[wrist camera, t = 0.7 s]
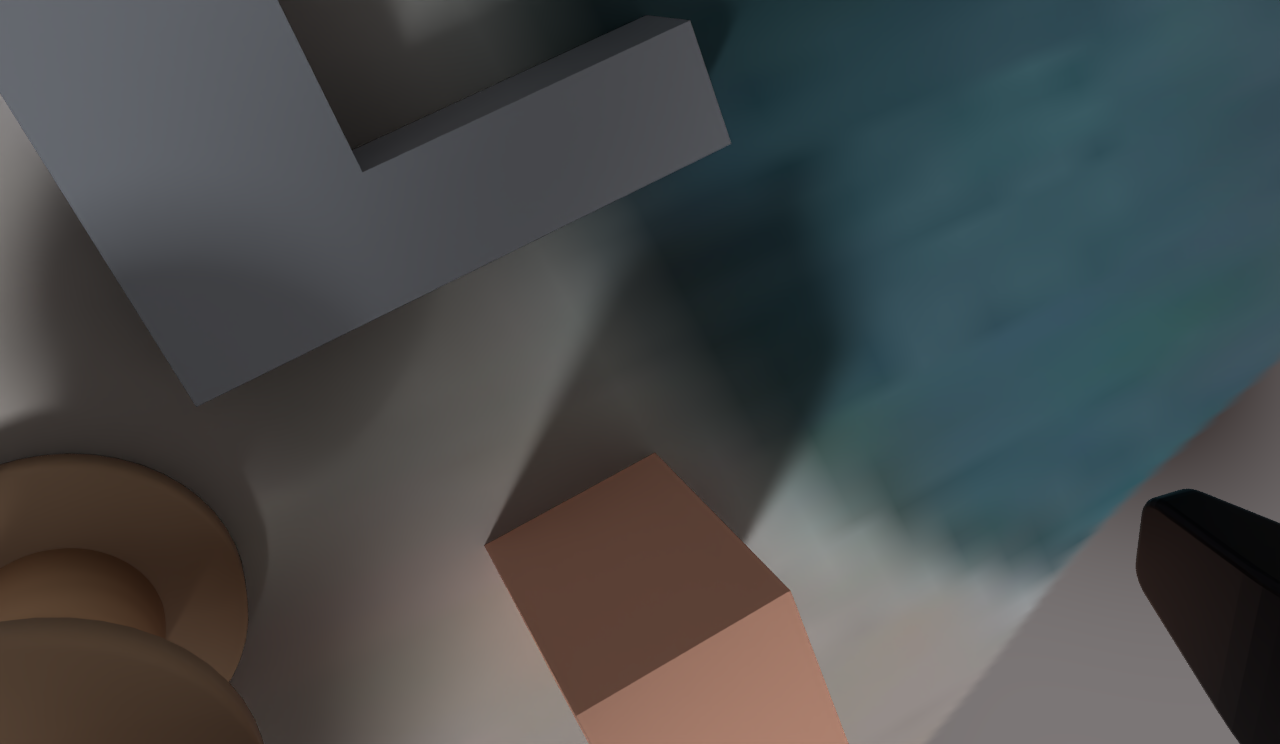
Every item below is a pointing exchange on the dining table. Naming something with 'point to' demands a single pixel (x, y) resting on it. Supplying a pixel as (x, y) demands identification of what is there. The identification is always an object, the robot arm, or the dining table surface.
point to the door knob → (116, 608)
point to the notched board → (319, 166)
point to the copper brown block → (663, 620)
